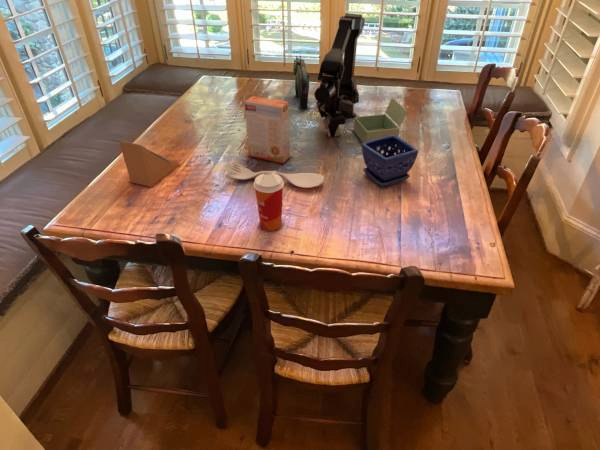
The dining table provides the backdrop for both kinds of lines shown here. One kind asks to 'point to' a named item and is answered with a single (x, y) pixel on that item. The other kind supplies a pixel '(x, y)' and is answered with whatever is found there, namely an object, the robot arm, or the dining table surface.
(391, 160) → the flower pot
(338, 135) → the lighter
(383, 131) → the carton
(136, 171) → the sandwich container
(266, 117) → the cracker box
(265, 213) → the coffee cup
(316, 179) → the spoon
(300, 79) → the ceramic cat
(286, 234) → the dining table surface
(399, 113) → the flap
